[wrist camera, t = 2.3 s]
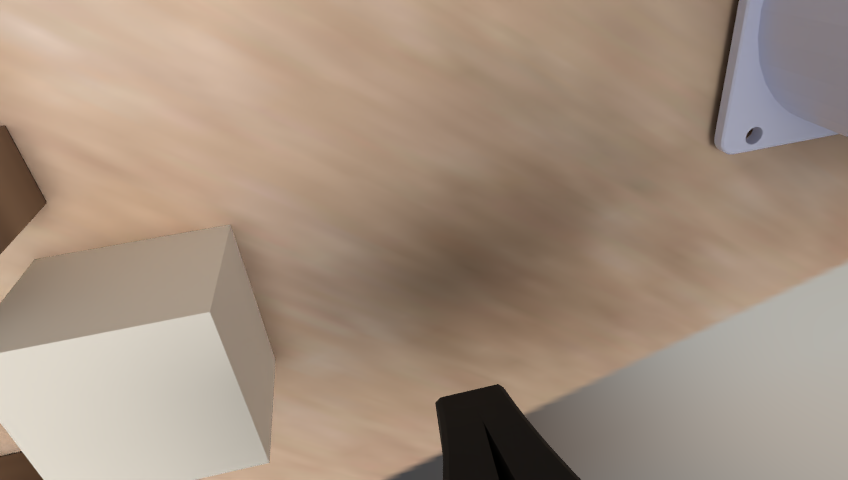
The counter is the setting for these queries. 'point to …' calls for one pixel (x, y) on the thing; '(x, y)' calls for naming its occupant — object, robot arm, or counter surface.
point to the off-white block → (138, 362)
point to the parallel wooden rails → (3, 220)
